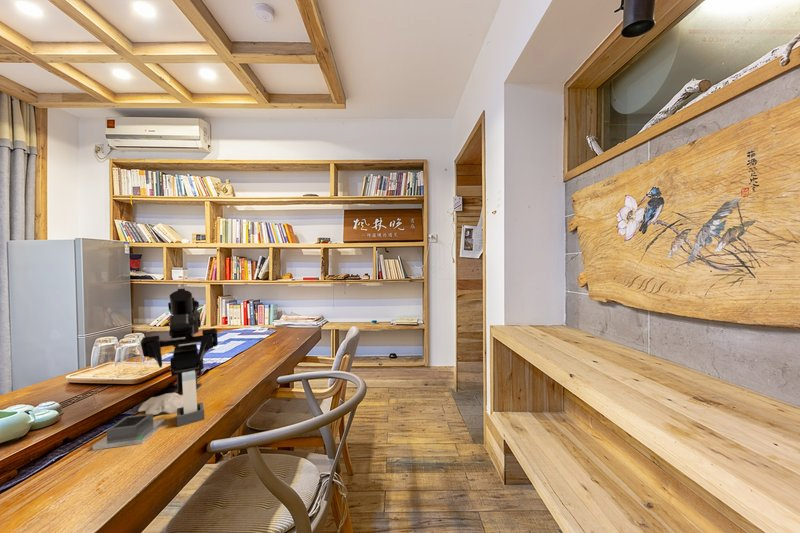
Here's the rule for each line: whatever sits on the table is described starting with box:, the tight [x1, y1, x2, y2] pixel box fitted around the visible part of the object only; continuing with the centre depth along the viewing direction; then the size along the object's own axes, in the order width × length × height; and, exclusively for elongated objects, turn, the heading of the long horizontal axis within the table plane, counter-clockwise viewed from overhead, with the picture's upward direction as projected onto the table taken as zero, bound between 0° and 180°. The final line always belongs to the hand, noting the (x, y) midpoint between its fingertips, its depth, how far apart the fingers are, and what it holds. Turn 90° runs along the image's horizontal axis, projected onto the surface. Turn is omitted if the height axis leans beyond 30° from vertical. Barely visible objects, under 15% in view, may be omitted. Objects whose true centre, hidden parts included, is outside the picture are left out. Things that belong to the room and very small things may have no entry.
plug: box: [182, 370, 198, 414], centre depth 85 cm, size 4×3×12 cm
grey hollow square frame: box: [176, 402, 205, 427], centre depth 85 cm, size 7×6×2 cm
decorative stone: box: [137, 392, 184, 417], centre depth 93 cm, size 11×4×15 cm
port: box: [92, 414, 166, 451], centre depth 78 cm, size 10×10×4 cm
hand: (180, 363), depth 89 cm, fingers open, 9 cm apart
